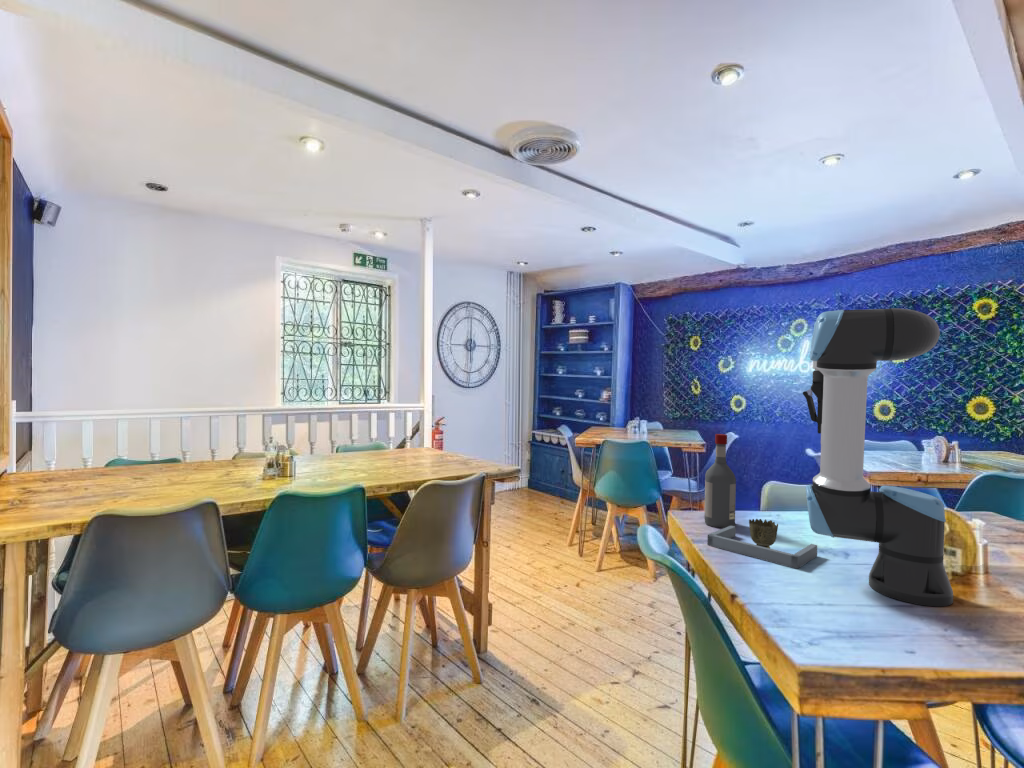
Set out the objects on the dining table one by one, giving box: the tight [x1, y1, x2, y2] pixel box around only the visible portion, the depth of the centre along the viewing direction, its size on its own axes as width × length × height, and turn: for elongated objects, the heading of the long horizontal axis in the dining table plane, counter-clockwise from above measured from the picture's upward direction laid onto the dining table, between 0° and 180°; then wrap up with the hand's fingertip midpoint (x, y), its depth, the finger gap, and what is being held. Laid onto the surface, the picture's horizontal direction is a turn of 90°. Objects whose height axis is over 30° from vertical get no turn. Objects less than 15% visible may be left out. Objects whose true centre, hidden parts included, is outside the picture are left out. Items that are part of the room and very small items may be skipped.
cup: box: [748, 518, 779, 549], centre depth 143 cm, size 8×7×8 cm
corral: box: [706, 525, 818, 570], centre depth 143 cm, size 24×15×3 cm, turn 42°
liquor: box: [703, 433, 737, 529], centre depth 169 cm, size 9×9×30 cm
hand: (824, 444), depth 160 cm, fingers closed
